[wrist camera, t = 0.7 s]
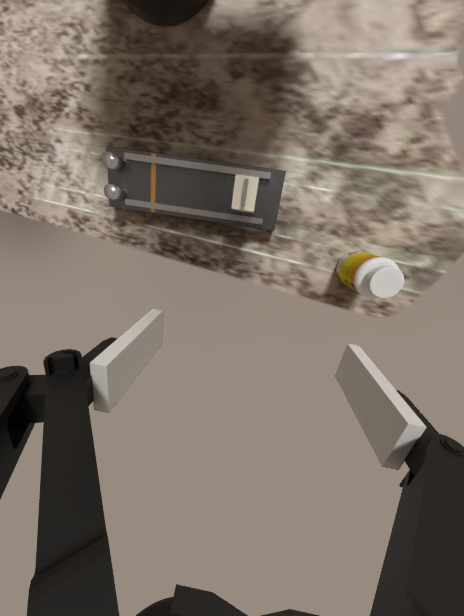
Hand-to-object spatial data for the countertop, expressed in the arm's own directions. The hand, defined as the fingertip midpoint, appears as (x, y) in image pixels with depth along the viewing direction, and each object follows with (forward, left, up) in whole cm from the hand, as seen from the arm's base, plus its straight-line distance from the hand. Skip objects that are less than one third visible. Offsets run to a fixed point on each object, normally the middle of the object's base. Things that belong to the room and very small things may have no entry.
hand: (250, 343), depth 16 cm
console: (-12, -11, -25) cm, 29 cm away
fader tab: (-12, -3, -22) cm, 25 cm away
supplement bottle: (-4, +16, -25) cm, 30 cm away
